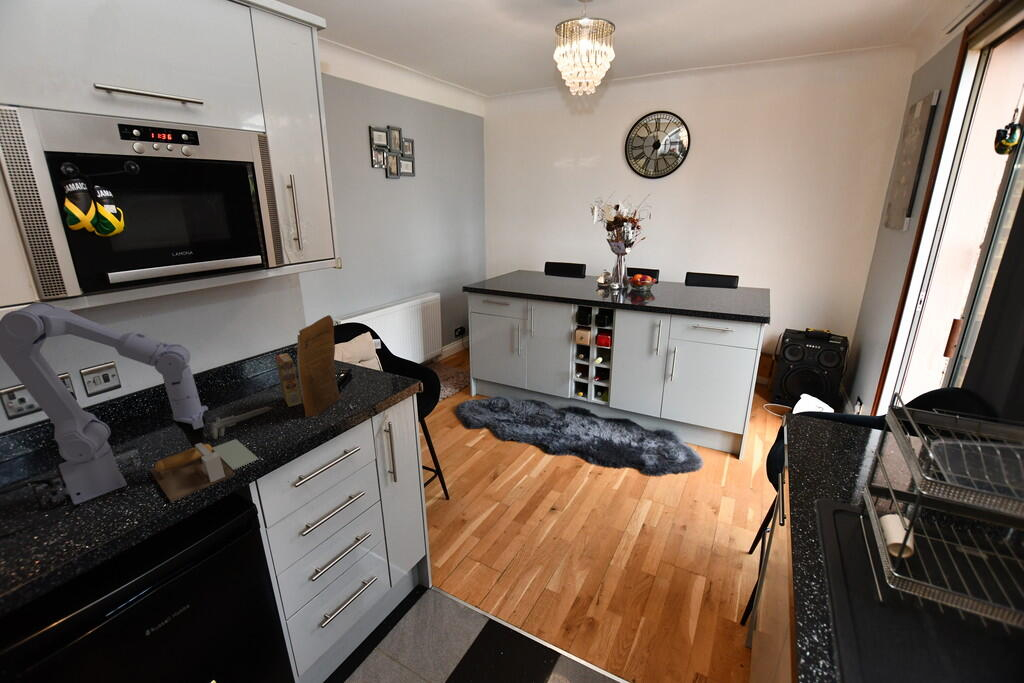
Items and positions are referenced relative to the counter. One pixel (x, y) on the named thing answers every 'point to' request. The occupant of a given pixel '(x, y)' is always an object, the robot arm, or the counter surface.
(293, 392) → the candy box
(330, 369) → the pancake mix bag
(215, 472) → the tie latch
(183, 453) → the orange sausage
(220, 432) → the caliper
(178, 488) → the clamp board
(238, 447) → the mat
